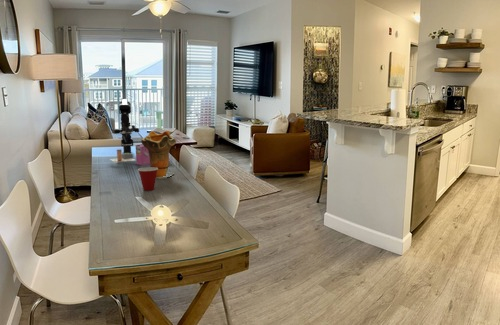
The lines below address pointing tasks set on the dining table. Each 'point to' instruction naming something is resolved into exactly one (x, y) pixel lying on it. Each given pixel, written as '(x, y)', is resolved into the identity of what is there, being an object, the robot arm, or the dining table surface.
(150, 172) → the plastic cup
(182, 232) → the dining table surface
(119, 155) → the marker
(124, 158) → the square board tray
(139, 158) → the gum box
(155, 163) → the decorative vase
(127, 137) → the robot arm
